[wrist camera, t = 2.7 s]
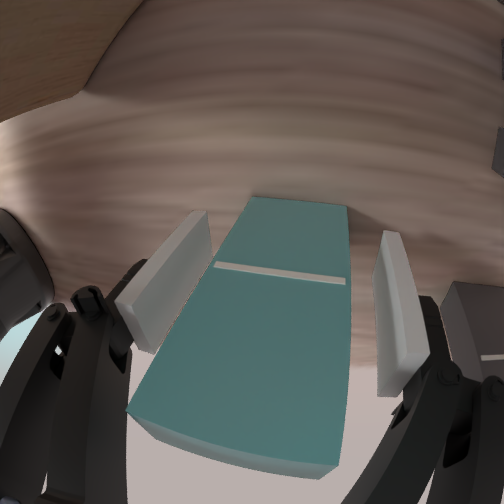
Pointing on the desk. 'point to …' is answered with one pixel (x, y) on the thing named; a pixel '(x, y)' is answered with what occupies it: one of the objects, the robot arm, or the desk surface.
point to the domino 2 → (475, 329)
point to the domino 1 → (261, 346)
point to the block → (53, 48)
